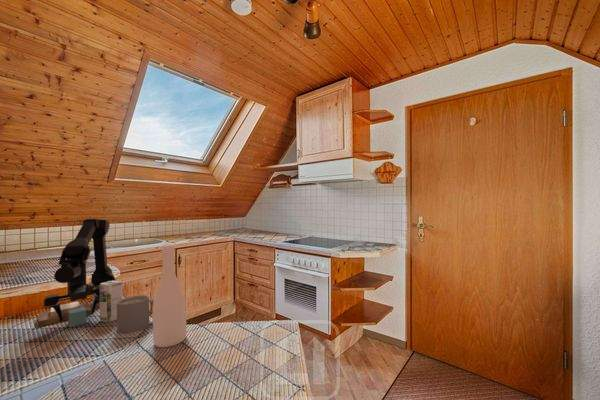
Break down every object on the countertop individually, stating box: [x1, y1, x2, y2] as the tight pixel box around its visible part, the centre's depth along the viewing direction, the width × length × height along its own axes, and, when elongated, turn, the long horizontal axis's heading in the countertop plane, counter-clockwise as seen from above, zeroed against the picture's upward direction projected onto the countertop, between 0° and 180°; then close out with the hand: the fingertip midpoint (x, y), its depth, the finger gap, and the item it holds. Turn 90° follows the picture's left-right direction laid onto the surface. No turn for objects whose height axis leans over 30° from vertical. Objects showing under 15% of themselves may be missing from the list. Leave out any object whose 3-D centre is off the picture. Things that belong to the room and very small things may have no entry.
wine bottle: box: [152, 244, 188, 348], centre depth 86 cm, size 10×10×30 cm
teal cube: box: [68, 307, 88, 328], centre depth 104 cm, size 5×5×5 cm
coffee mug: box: [116, 294, 154, 335], centre depth 99 cm, size 13×10×10 cm
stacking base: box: [37, 300, 93, 328], centre depth 113 cm, size 16×13×4 cm
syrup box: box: [99, 280, 124, 323], centre depth 107 cm, size 6×6×14 cm
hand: (77, 317), depth 105 cm, fingers open, 9 cm apart
